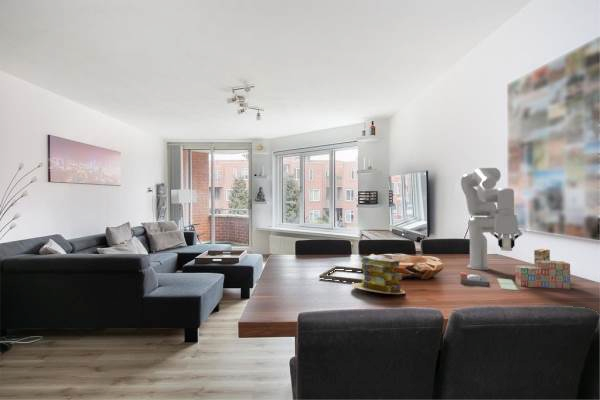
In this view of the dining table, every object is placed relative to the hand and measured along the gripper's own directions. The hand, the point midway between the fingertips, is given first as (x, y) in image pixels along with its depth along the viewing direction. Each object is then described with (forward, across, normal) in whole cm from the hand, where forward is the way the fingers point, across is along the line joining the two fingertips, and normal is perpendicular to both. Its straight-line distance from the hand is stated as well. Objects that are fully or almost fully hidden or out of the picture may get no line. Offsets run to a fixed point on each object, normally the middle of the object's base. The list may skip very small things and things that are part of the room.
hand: (506, 247), depth 170 cm
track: (+18, 0, -4) cm, 19 cm away
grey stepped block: (+18, -16, -6) cm, 25 cm away
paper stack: (+19, -57, -43) cm, 74 cm away
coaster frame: (+18, -78, -20) cm, 82 cm away
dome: (+17, -16, -6) cm, 24 cm away
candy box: (+18, +19, +19) cm, 33 cm away
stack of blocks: (+19, +15, 0) cm, 24 cm away
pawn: (+2, 0, 0) cm, 2 cm away
